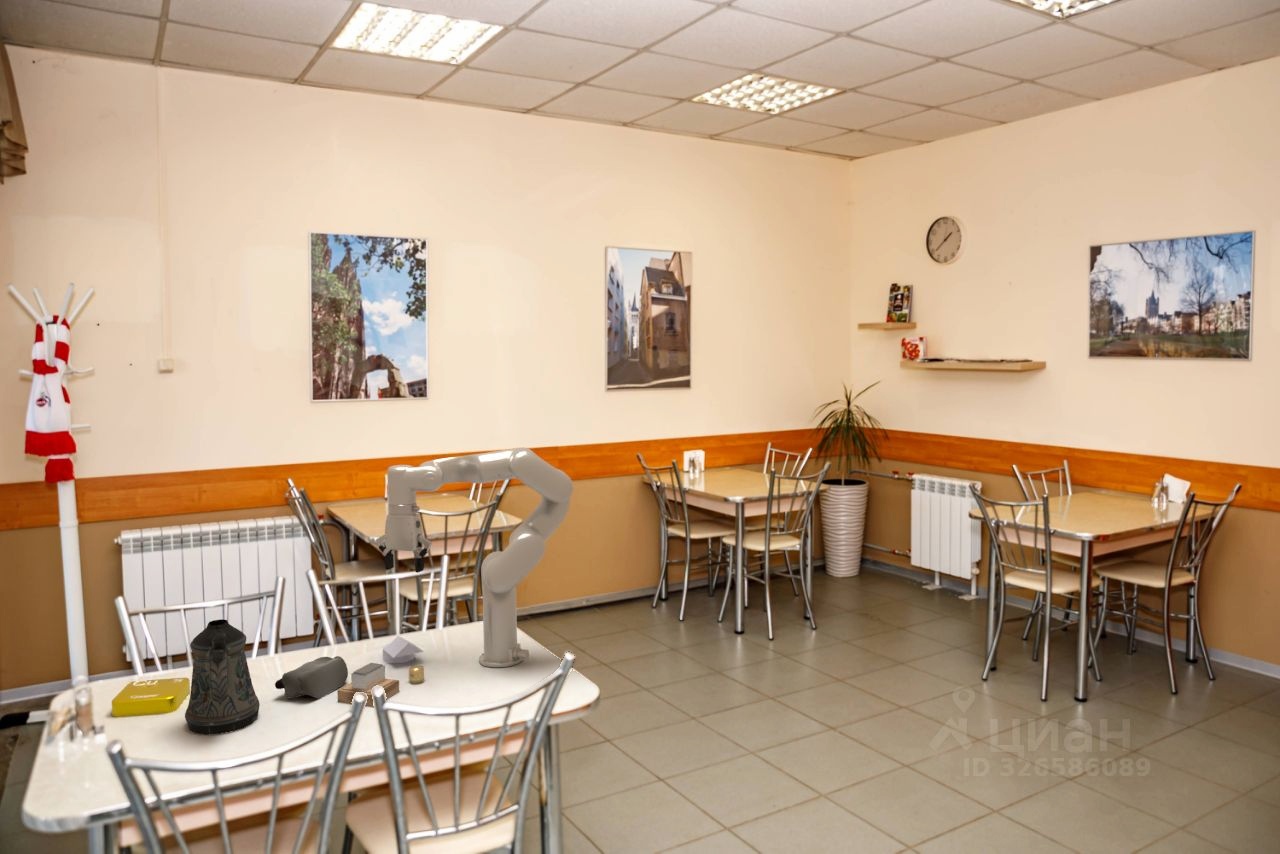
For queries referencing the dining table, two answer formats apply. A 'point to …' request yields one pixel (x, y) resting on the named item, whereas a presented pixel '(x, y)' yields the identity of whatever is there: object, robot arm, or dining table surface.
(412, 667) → the bushing
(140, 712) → the element tile
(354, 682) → the block
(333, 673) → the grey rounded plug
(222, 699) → the ornate dark jug
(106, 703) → the dining table surface
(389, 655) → the wedge on round base
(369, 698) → the stand
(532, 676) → the dining table surface
